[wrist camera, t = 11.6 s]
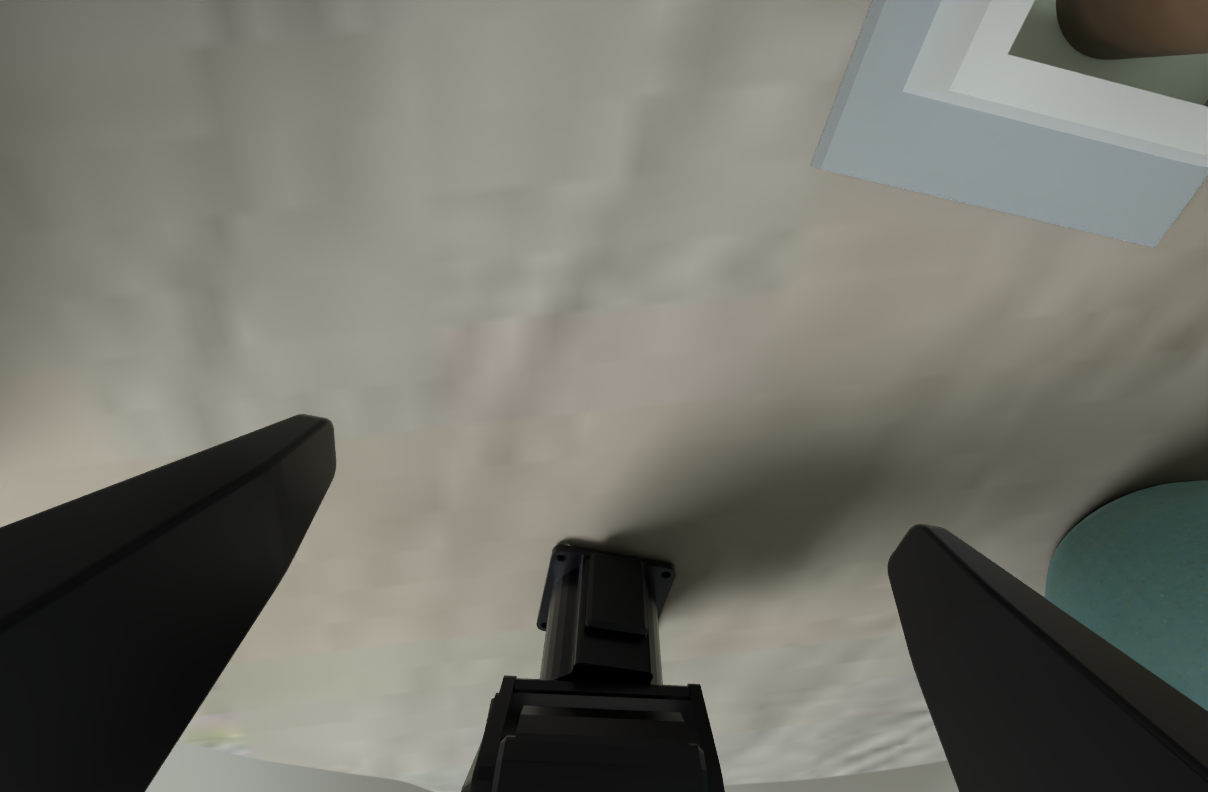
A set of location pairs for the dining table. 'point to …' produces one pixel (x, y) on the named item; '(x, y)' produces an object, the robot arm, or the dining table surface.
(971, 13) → the white tray
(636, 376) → the dining table surface
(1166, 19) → the walnut cylinder
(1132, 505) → the teal bowl
